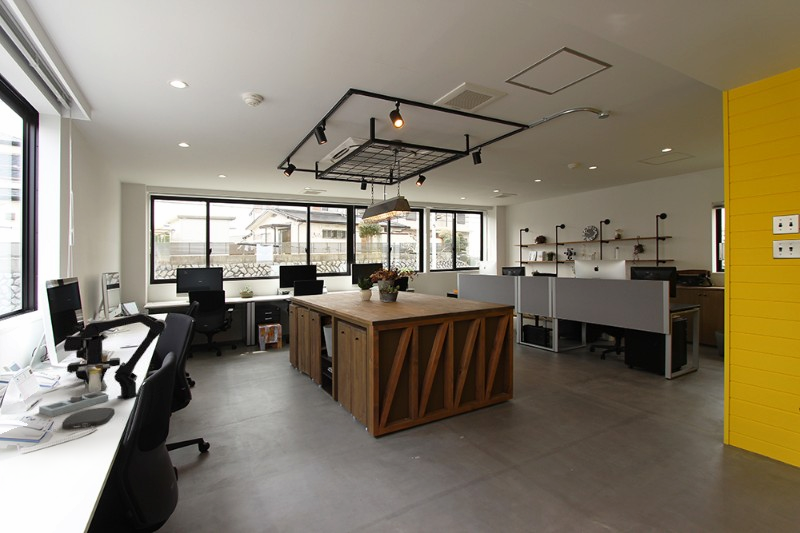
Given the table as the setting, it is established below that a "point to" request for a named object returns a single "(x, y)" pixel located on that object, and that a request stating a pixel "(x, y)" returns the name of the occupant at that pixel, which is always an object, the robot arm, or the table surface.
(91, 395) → the pad
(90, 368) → the grey triangular stone
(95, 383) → the cartridge
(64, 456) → the table surface
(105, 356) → the disposable coffee cup
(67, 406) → the housing
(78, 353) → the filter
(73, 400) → the plunger
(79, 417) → the media streaming box
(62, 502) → the table surface
